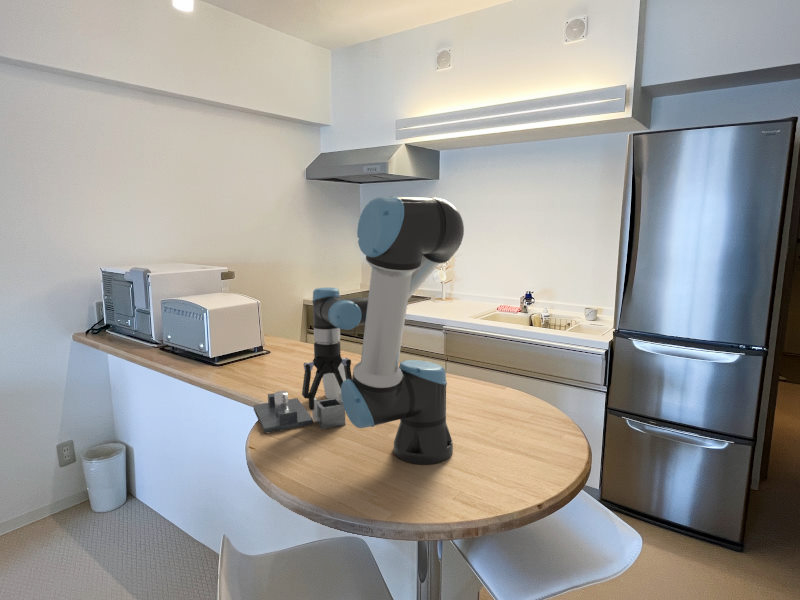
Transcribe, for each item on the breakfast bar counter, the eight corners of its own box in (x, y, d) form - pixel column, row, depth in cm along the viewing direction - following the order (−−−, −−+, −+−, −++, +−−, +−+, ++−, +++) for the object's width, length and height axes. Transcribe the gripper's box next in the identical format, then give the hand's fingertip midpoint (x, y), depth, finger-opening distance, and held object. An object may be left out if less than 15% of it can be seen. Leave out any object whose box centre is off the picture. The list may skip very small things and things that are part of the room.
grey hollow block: (345, 424, 141) (344, 405, 140) (322, 429, 138) (321, 409, 137) (338, 416, 147) (337, 397, 146) (315, 420, 144) (314, 401, 143)
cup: (343, 401, 160) (342, 366, 158) (318, 400, 161) (316, 365, 160) (352, 392, 168) (351, 359, 166) (327, 390, 170) (326, 357, 168)
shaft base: (313, 424, 141) (312, 399, 140) (264, 433, 136) (263, 408, 134) (297, 402, 159) (296, 380, 158) (253, 409, 154) (252, 386, 152)
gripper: (356, 335, 147) (357, 407, 150) (288, 342, 138) (291, 418, 141) (365, 340, 140) (365, 416, 143) (294, 347, 131) (297, 428, 135)
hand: (328, 417), depth 142 cm, fingers open, 8 cm apart
